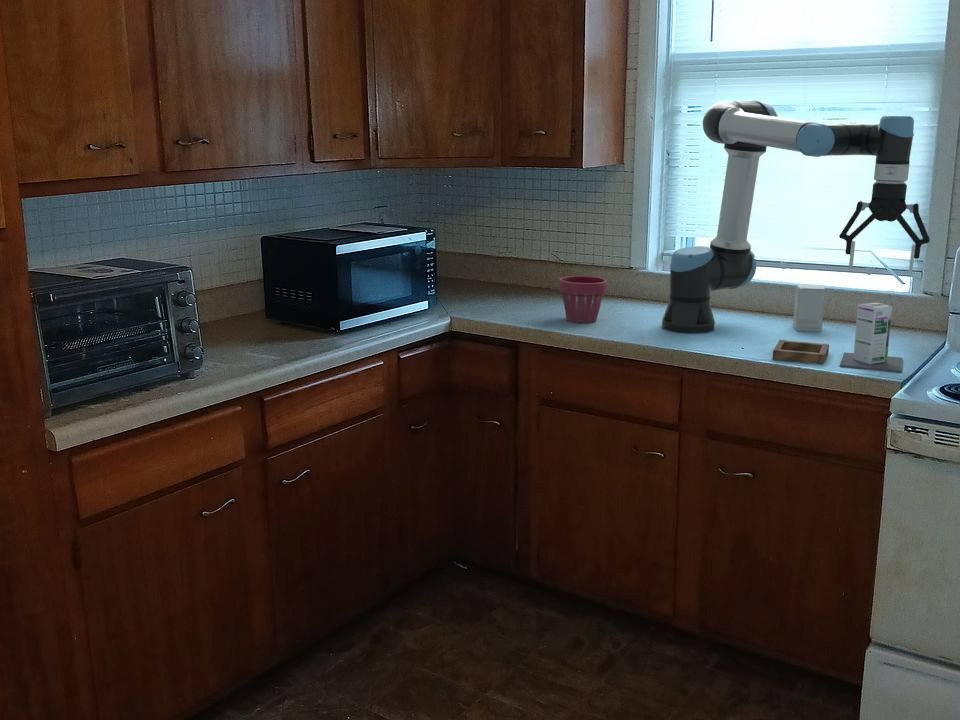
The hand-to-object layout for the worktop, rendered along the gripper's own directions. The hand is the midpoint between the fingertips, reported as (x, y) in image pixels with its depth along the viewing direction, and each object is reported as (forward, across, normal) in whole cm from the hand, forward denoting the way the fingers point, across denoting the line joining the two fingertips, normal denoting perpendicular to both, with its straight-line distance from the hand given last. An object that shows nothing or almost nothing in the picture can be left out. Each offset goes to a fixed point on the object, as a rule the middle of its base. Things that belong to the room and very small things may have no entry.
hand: (880, 269), depth 231 cm
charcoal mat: (+24, 0, 0) cm, 24 cm away
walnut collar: (+24, -16, 0) cm, 29 cm away
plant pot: (+25, -82, +20) cm, 88 cm away
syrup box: (+23, 0, 0) cm, 23 cm away
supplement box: (+24, -18, +35) cm, 46 cm away
